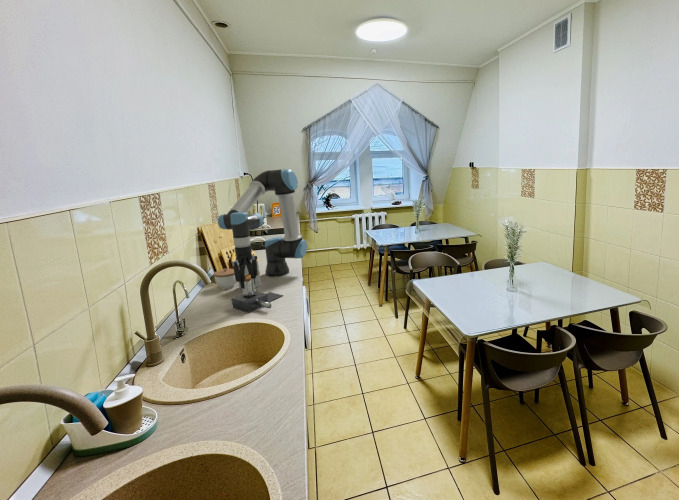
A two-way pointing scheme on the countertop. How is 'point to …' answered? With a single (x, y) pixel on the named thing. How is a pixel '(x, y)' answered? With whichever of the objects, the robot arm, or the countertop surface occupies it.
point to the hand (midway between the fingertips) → (249, 292)
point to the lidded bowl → (225, 278)
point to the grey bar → (249, 286)
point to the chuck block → (251, 302)
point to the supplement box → (257, 279)
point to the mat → (273, 296)
